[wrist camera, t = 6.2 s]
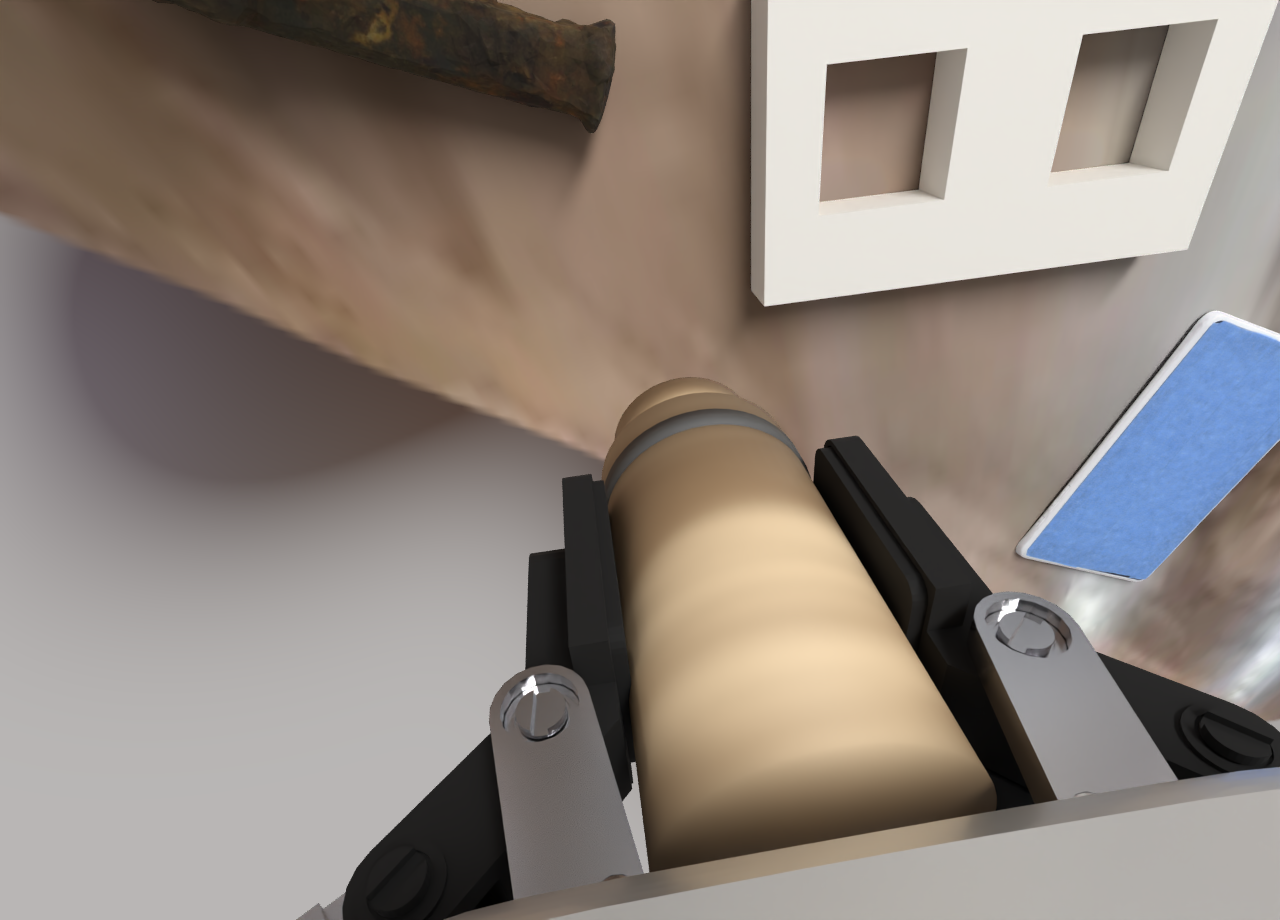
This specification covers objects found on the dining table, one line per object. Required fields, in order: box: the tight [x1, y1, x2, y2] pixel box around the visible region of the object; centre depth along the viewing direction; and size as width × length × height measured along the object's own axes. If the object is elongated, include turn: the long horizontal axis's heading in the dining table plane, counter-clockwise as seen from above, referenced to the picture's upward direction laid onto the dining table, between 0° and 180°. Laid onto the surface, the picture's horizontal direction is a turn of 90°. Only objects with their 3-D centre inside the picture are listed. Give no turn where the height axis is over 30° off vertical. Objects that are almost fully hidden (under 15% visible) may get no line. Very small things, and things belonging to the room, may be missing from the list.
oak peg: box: [602, 377, 997, 872], centre depth 11 cm, size 4×4×9 cm
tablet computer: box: [1016, 311, 1280, 582], centre depth 44 cm, size 19×13×1 cm, turn 161°
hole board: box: [751, 0, 1278, 306], centre depth 30 cm, size 14×22×2 cm, turn 95°
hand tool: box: [153, 0, 616, 133], centre depth 24 cm, size 19×4×5 cm, turn 74°
